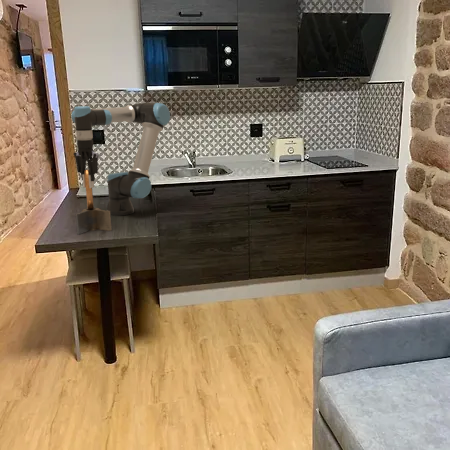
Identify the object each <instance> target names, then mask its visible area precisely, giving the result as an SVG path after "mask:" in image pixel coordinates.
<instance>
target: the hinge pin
mask: <svg viewBox="0 0 450 450" xmlns="http://www.w3.org/2000/svg"><path fill="white" fill-rule="evenodd" d="M84 174H85V185H86V187H85V193H86V194H85V195H86V206H87V208H88V209H92V208H95V205H94V195H93V188H90V187H89V176H88V175H89V174H90V173H89V169H86V170H84ZM87 208H86V209H87Z"/></svg>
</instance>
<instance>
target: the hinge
mask: <svg viewBox="0 0 450 450" xmlns="http://www.w3.org/2000/svg"><path fill="white" fill-rule="evenodd" d="M111 220H112V219H111V215H110V211H107V209H106V210H104V209H101V208H99V207H94V208H92V209H88V208H84V209H82V210H81V212H78V213H76V214H75V223H76V234H77V235H81V234H82V235H83V234H84V233H86V232H90V231H92V232H93V231H96V230H99V231H100V230H101V231H108V232H111V231H112V221H111Z"/></svg>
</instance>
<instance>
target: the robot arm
mask: <svg viewBox="0 0 450 450" xmlns="http://www.w3.org/2000/svg"><path fill="white" fill-rule="evenodd" d="M70 118H71V121H72V122H73V123H74V125H75V133H76V134H75V135H76V139H77V140H76V147H77V151H75V152H73V156H74V158H75V164H76V172H77V173H79V174H80V175H81V181H82V186H83V188H85V189H86V185H85V174H84V170H87V168H88V170H89V173H90V174H89V175H88V176H89V187H90V188H92V189H93V188H95V174H98V173H99V169H98V168H99V161H98V159H99V153H98V152H95V150H94V140H93V138H94V137H93V136H94V135H93V127H95V126H108V125H110V124H111V123H121V122H122V123H124V122H127V123H132V124H133V123H134V124H142V127H143V130H142V134H141V136H140V137H141V138H140V140H139V144H138V147H137V148H138V149H137V152H136V154H135V159H134V163H133V165H132V169H130V170H128V171H121V172H113V173H109V174H108V175H107V181H106V182H107V190H108V203H107V207H106V211H110V216H115V217H116V216H118V217H119V216H126V215H127V216H128V215H131V214H134V212H135V210H134V209H135V208H134V205H133V203H132V201H131V198H133V199H144V198H146V197H147V196H148V195H149V194H150V193H151V190H152V182H151V180H150V178H151V175H149V170H150V167H151V162H152V159H153V156H154V152H155V148H156V144H157V140H158V137H159V134H160V132H162V131H163V129H164V126H166V125H167V124H169V122H170V120H171V113H170V109H169V107H168V106H167V105H166V104H164V103H161V102H141V103H137V104H136V103H135V104H127V105H125V106H123V107H121V106H120V107H105V108H91V107H90V106H88V105H84V106H83V105H81V106H75V107H74V109H73V111H72V112H71V117H70ZM87 166H88V167H87Z"/></svg>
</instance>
